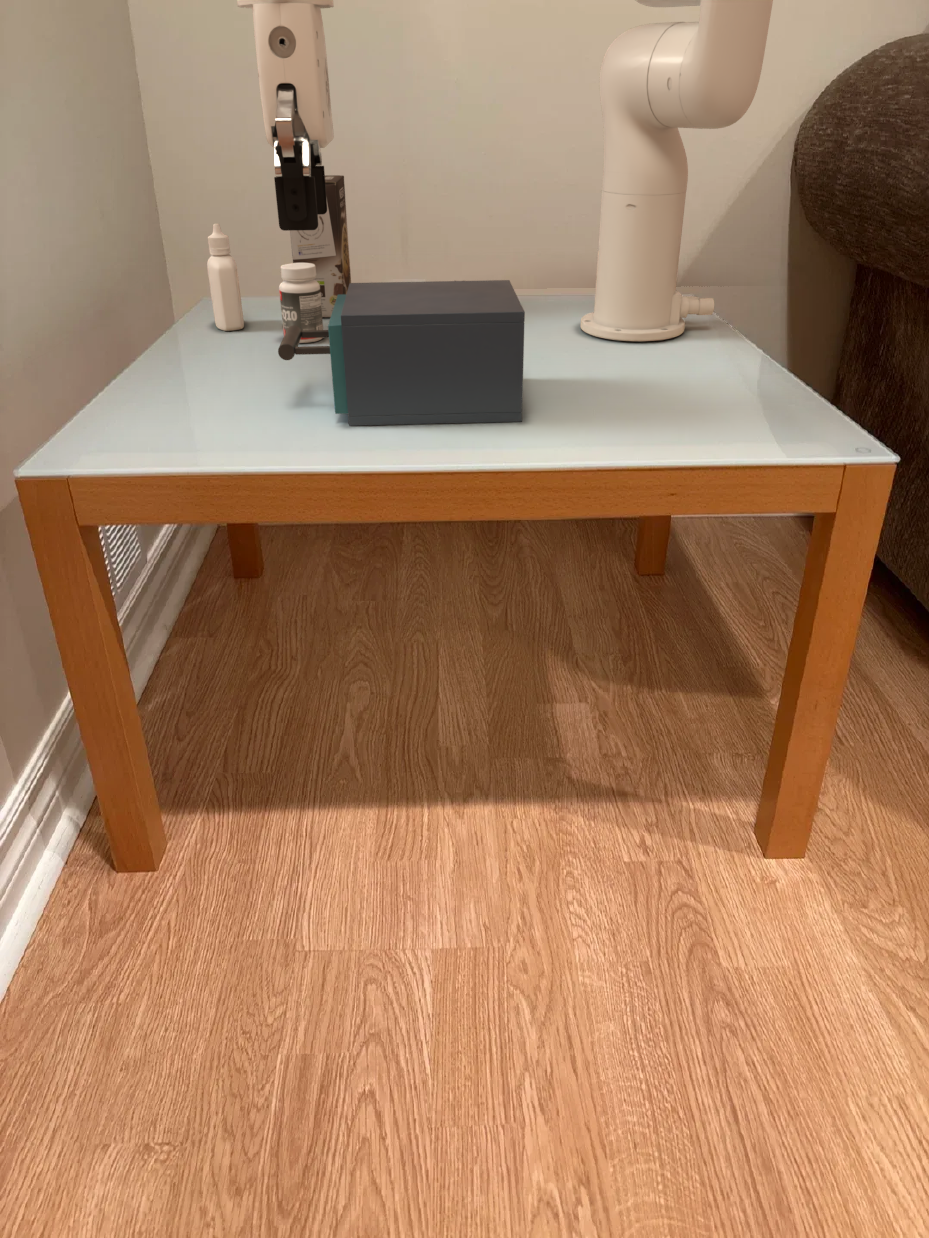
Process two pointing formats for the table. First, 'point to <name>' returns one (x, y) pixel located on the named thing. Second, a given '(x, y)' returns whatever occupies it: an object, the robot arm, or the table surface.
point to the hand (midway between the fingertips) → (304, 221)
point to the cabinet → (433, 352)
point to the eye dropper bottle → (224, 283)
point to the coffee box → (327, 246)
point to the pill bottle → (300, 298)
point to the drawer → (322, 351)
